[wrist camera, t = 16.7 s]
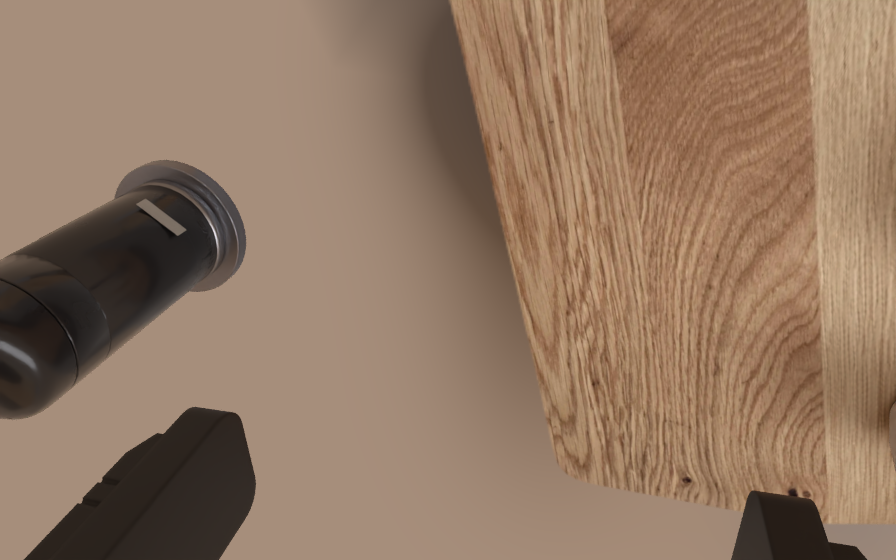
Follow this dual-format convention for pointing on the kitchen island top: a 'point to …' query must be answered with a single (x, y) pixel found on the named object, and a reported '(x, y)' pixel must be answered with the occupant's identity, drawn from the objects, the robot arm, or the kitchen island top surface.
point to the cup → (893, 432)
